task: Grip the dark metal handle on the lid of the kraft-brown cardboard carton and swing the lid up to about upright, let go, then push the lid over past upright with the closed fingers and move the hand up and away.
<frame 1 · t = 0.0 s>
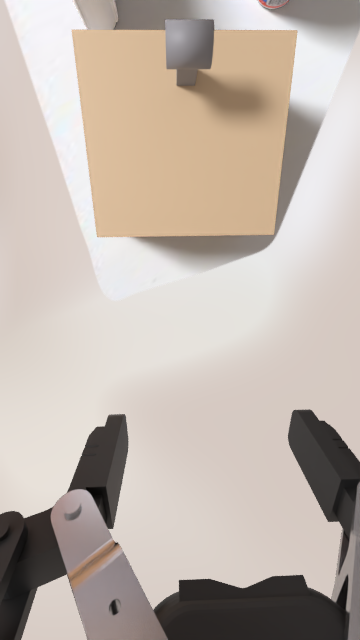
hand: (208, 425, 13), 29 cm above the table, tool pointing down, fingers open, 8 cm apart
carton lid: (187, 137, 22), point 13 cm above the table, hinge at 0.0°
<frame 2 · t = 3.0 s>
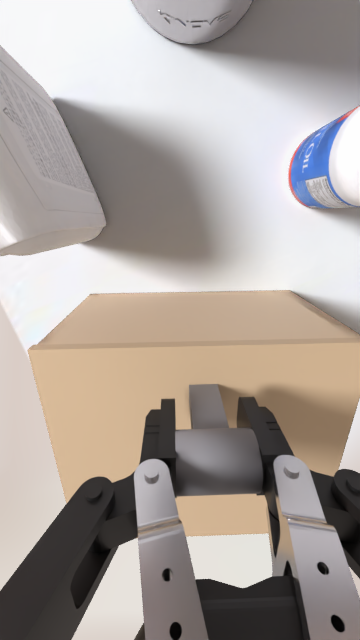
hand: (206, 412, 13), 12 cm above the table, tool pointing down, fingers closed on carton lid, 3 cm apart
photo printer: (61, 174, 20), on the table
pill bottle: (318, 171, 21), on the table
carton: (190, 368, 27), on the table
carton lid: (206, 496, 14), point 13 cm above the table, hinge at 0.0°, touching carton, gripper
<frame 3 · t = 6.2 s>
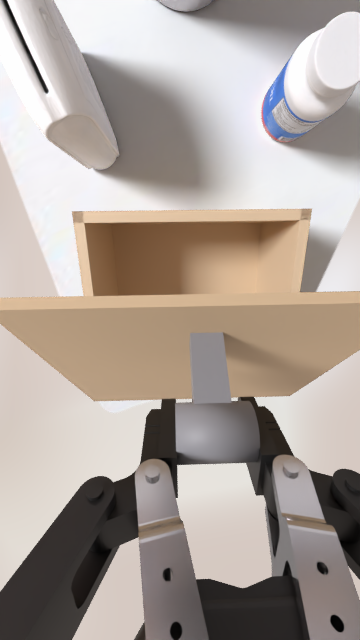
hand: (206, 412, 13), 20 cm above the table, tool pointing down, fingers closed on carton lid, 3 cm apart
photo printer: (85, 114, 26), on the table
pill bottle: (285, 113, 26), on the table
carton: (186, 287, 32), on the table
carton lid: (201, 408, 16), point 18 cm above the table, hinge at 40.9°, touching gripper
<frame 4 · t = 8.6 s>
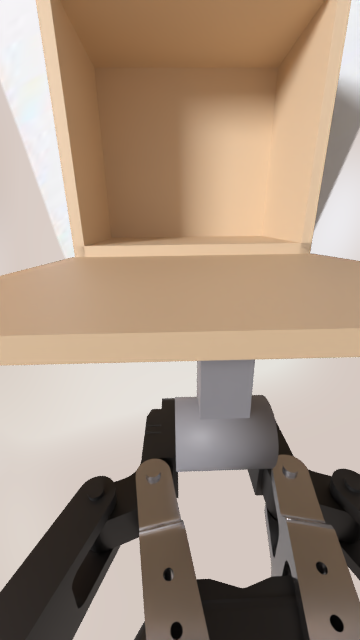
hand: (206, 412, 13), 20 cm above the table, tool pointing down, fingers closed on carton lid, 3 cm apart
carton: (186, 161, 26), on the table
carton lid: (205, 330, 13), point 18 cm above the table, hinge at 87.6°, touching gripper
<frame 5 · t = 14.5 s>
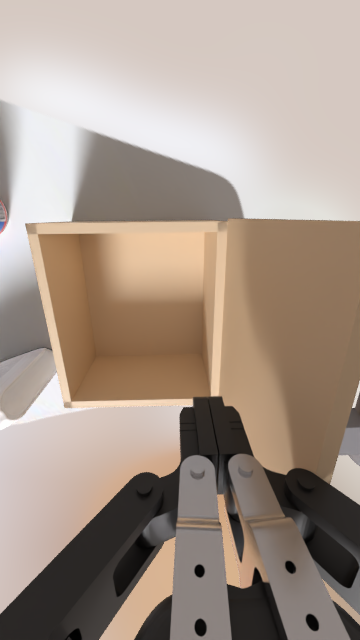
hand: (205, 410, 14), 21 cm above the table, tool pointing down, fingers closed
photo printer: (26, 366, 37), on the table
carton: (146, 296, 33), on the table
carton lid: (294, 372, 17), point 18 cm above the table, hinge at 91.1°, touching gripper, hand
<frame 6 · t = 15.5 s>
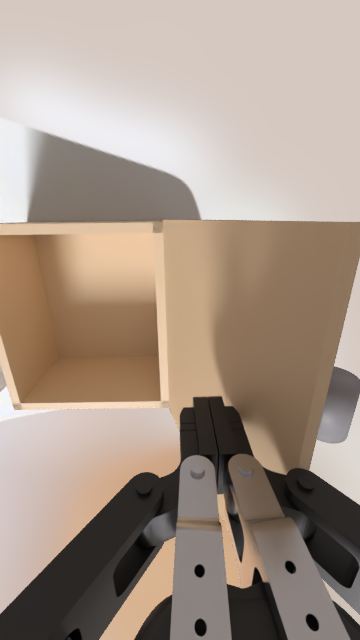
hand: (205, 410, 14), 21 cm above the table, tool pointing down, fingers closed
carton: (106, 297, 33), on the table
carton lid: (245, 364, 18), point 16 cm above the table, hinge at 109.8°, touching gripper
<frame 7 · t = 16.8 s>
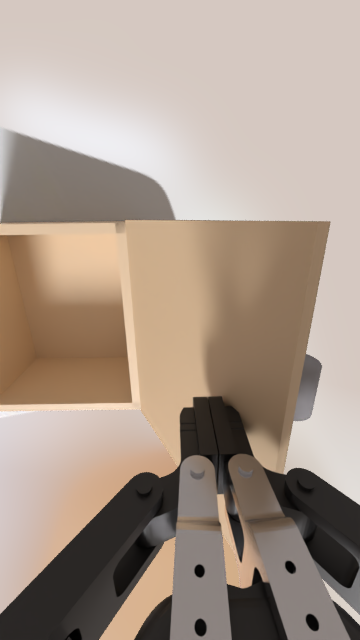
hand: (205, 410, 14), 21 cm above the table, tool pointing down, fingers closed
carton: (82, 298, 33), on the table
carton lid: (216, 357, 19), point 15 cm above the table, hinge at 120.1°, touching carton, gripper
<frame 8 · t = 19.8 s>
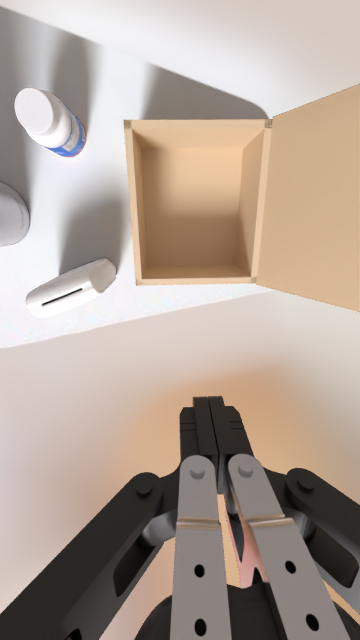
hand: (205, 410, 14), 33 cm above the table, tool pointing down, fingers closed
photo printer: (87, 277, 44), on the table
pill bottle: (67, 136, 37), on the table
carton: (191, 212, 41), on the table
carton lid: (346, 207, 27), point 15 cm above the table, hinge at 120.1°
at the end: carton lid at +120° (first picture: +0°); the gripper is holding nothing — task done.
